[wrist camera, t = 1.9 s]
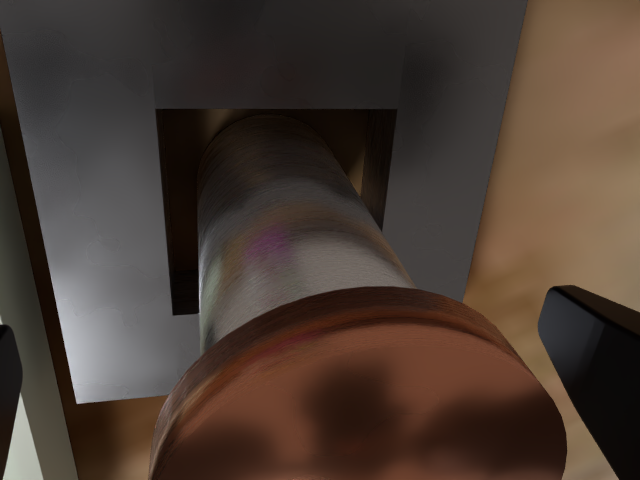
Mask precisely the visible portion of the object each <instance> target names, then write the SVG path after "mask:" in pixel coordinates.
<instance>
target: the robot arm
mask: <svg viewBox="0 0 640 480" xmlns="http://www.w3.org/2000/svg"><path fill="white" fill-rule="evenodd" d="M538 333H539V336H540V338H541V341H542V343H543V345H544V347H545V349H546V351H547V353H548V355H549V357H550V359H551V361H552V363H553V365H554V367H555V369H556V371H557V373H558V375H559V377H560V379H561V381H562V383H563V386H564V388H565V390H566V392H567V394H568V396H569V398H570V400H571V401H572V403H573V405H574V407H575V409H576V411H577V412H578V414H579V416H580V417H581V419H582V421H583V422H584V424H585V426H586V427H587V429H588V430H589V432H590V434H591V435H592V437H593V438H594V440H595V442H596V443H597V445H598V447H599V448H600V450H601V451H602V453H603V455H604V456H605V458H606V459H607V461H608V463H609V464H610V466H611V468H612V469H613V471H614V472H615V474H616V476H617V477H618V479H619V480H640V312H638V311H635V310H633V309H630V308H628V307H626V306H623V305H621V304H618V303H616V302H613V301H611V300H609V299H606V298H604V297H601V296H599V295H596V294H594V293H592V292H589V291H587V290H584V289H582V288H579V287H577V286H574V285H564V286H553V287H552V288H550V289H549V290H548V292H547V294H546V298H545V301H544V304H543V308H542V311H541V314H540V318H539V321H538ZM22 381H23V368H22V363H21V359H20V355H19V351H18V347H17V343H16V340H15V336H14V332H13V330H12V328H11V327H10V326H9V325H7V324H1V325H0V480H3V477H4V473H5V468H6V464H7V459H8V454H9V449H10V444H11V439H12V434H13V428H14V423H15V418H16V413H17V408H18V402H19V397H20V392H21V387H22Z"/></svg>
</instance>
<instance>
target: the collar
mask: <svg viewBox="0 0 640 480" xmlns="http://www.w3.org/2000/svg"><path fill="white" fill-rule="evenodd" d="M527 2H528V0H0V29H1V34H2V39H3V43H4V48H5V53H6V58H7V63H8V68H9V73H10V78H11V83H12V88H13V93H14V98H15V103H16V107H17V112H18V117H19V122H20V127H21V132H22V137H23V142H24V147H25V152H26V157H27V162H28V167H29V171H30V176H31V181H32V186H33V191H34V196H35V201H36V206H37V211H38V216H39V221H40V226H41V231H42V235H43V240H44V245H45V250H46V255H47V260H48V265H49V270H50V275H51V280H52V285H53V290H54V295H55V299H56V304H57V309H58V314H59V319H60V324H61V329H62V334H63V339H64V344H65V349H66V354H67V359H68V363H69V368H70V373H71V378H72V383H73V388H74V393H75V398H76V403H77V404H80V403H90V402H101V401H111V400H121V399H132V398H142V397H152V396H163V395H169V394H170V393H171V391H172V389H173V388H174V387H175V385H176V384H177V383H178V381H179V380H180V379H181V377H182V376H183V375H184V373H185V372H186V371H187V370H188V369H189V368H190V367H191V366H192V365H193V364H194V363H195V362H196V361H197V360H198V359H199V358H200V357H201V356H200V309H199V270H195V271H177V272H175V269H174V256H173V244H172V231H171V218H170V205H169V192H168V180H167V167H166V154H165V141H164V129H163V116H162V109H369V119H368V129H367V139H366V149H365V159H364V169H363V179H362V189H361V200H362V201H363V203H364V205H365V206H366V208H367V209H368V211H369V213H370V214H371V216H372V217H373V219H374V221H375V222H376V224H377V225H378V227H379V229H380V230H381V232H382V233H383V235H384V237H385V238H386V240H387V241H388V243H389V245H390V246H391V248H392V249H393V251H394V253H395V254H396V256H397V257H398V259H399V261H400V262H401V264H402V265H403V267H404V269H405V270H406V272H407V273H408V275H409V277H410V278H411V280H412V281H413V283H414V285H415V286H416V288H417V289H420V290H424V291H428V292H432V293H436V294H440V295H444V296H446V297H449V298H451V299H453V300H456V301H458V302H461V303H462V302H463V298H464V293H465V288H466V284H467V279H468V274H469V270H470V265H471V261H472V256H473V251H474V247H475V242H476V237H477V233H478V228H479V224H480V219H481V214H482V210H483V205H484V200H485V196H486V191H487V187H488V182H489V177H490V173H491V168H492V163H493V159H494V154H495V150H496V145H497V140H498V136H499V131H500V126H501V122H502V117H503V113H504V108H505V103H506V99H507V94H508V90H509V85H510V80H511V76H512V71H513V66H514V62H515V57H516V53H517V48H518V43H519V39H520V34H521V29H522V25H523V20H524V16H525V11H526V6H527Z"/></svg>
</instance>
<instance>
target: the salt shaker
mask: <svg viewBox="0 0 640 480" xmlns="http://www.w3.org/2000/svg"><path fill="white" fill-rule="evenodd" d="M197 215H198V262H199V309H200V356H201V357H200V358H199V359H198V360H197V361H196V362H195V363H194V364H193V365H192V366H191V367H190V368H189V369H188V370H187V371H186V372H185V373H184V375H183V376H182V377H181V379H180V380H179V381H178V383H177V384H176V385H175V387H174V388H173V389H172V391H171V393H170V394H169V396H168V398H167V400H166V402H165V404H164V405H163V407H162V409H161V411H160V414H159V417H158V420H157V423H156V425H155V428H154V433H153V439H152V445H151V453H150V465H149V478H148V480H561V479H562V476H563V473H564V470H565V463H566V456H567V440H566V431H565V427H564V424H563V420H562V416H561V414H560V413H559V411H558V409H557V407H556V405H555V403H554V401H553V399H552V398H551V397H550V396H549V394H548V393H547V392H546V390H545V389H544V388H543V386H542V385H541V384H540V382H539V381H538V380H537V379H536V377H535V376H534V375H533V373H532V372H531V371H530V369H529V368H528V367H527V365H526V364H525V363H524V362H523V360H522V359H521V358H520V356H519V355H518V354H517V352H516V351H515V350H514V348H513V347H512V346H511V345H510V343H509V342H508V341H507V339H506V338H505V337H504V336H503V334H502V333H501V332H500V331H499V330H498V328H497V327H496V326H495V325H494V324H492V323H491V322H490V321H489V320H488V319H486V318H485V317H484V316H483V315H482V314H480V313H479V312H477V311H475V310H474V309H472V308H470V307H468V306H467V305H465V304H463V303H461V302H458V301H456V300H453V299H451V298H449V297H446V296H444V295H440V294H436V293H432V292H428V291H424V290H420V289H417V288H416V286H415V285H414V283H413V281H412V280H411V278H410V277H409V275H408V273H407V272H406V270H405V269H404V267H403V265H402V264H401V262H400V261H399V259H398V257H397V256H396V254H395V253H394V251H393V249H392V248H391V246H390V245H389V243H388V241H387V240H386V238H385V237H384V235H383V233H382V232H381V230H380V229H379V227H378V225H377V224H376V222H375V221H374V219H373V217H372V216H371V214H370V213H369V211H368V209H367V208H366V206H365V205H364V203H363V201H362V200H361V198H360V197H359V195H358V193H357V192H356V190H355V188H354V187H353V185H352V184H351V182H350V180H349V179H348V177H347V176H346V174H345V172H344V171H343V169H342V168H341V166H340V164H339V163H338V161H337V160H336V158H335V156H334V155H333V153H332V152H331V150H330V148H329V147H328V145H327V144H326V142H325V141H324V140H323V138H322V137H321V136H320V135H319V134H318V133H317V132H316V131H315V130H314V129H312V128H311V127H309V126H308V125H307V124H305V123H303V122H301V121H299V120H297V119H294V118H291V117H287V116H282V115H273V114H266V115H257V116H251V117H248V118H245V119H242V120H239V121H237V122H235V123H233V124H231V125H230V126H228V127H227V128H225V129H224V130H223V131H221V132H220V133H219V134H218V135H217V136H216V137H215V138H214V139H213V140H212V142H211V143H210V144H209V146H208V147H207V149H206V150H205V152H204V154H203V156H202V158H201V161H200V164H199V167H198V173H197Z"/></svg>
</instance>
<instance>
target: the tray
mask: <svg viewBox="0 0 640 480" xmlns="http://www.w3.org/2000/svg"><path fill="white" fill-rule="evenodd" d="M1 324H7V325H9V326H10V327H11V328H12V330H13V332H14V336H15V340H16V343H17V347H18V351H19V355H20V359H21V363H22V368H23V381H22V387H21V392H20V397H19V402H18V408H17V413H16V418H15V423H14V428H13V434H12V439H11V444H10V449H9V454H8V459H7V464H6V468H5V473H4V477H3V480H78V476H77V471H76V467H75V462H74V458H73V453H72V448H71V444H70V439H69V435H68V430H67V426H66V421H65V417H64V412H63V408H62V403H61V399H60V394H59V389H58V385H57V380H56V376H55V371H54V367H53V362H52V358H51V353H50V349H49V344H48V340H47V335H46V330H45V326H44V321H43V317H42V312H41V308H40V303H39V299H38V294H37V290H36V285H35V281H34V276H33V272H32V267H31V262H30V258H29V253H28V249H27V244H26V240H25V235H24V231H23V226H22V222H21V217H20V213H19V208H18V203H17V199H16V194H15V190H14V185H13V181H12V176H11V172H10V167H9V163H8V158H7V154H6V149H5V144H4V140H3V135H2V131H1V126H0V325H1Z"/></svg>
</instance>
